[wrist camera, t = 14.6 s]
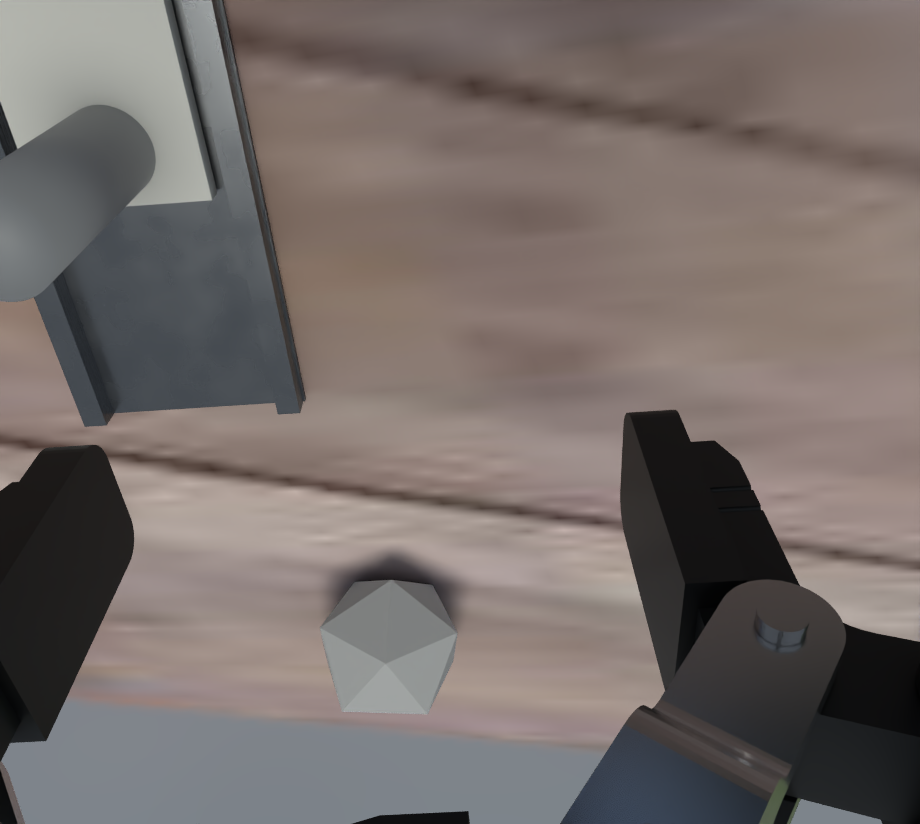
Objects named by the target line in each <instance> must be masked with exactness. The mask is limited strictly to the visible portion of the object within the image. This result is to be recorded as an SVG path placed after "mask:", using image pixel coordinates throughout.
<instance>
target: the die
mask: <svg viewBox="0 0 920 824" xmlns="http://www.w3.org/2000/svg"><path fill="white" fill-rule="evenodd" d="M320 631H321V635H322V640H323V644H324V649H325V654H326V658H327V661H328V665H329V668H330V672H331V675H332V679H333V682H334V686H335V689H336V693H337V696H338V700H339V703H340V707H341V710H342V712H373V713H404V714H428V712H429V710H430V708H431V706H432V704H433V702H434V700H435V698H436V696H437V694H438V692H439V689H440V687H441V685H442V683H443V681H444V679H445V677H446V675H447V673H448V671H449V669H450V667H451V664H452V662H453V659H454V652H455V646H456V639H457V631H456V629H455V627H454V625H453V623H452V621H451V619H450V618H449V616H448V614H447V612H446V610H445V608H444V606H443V604H442V602H441V600H440V598H439V597H438V595H437V593H436V591H435V589H434V587H433V585H429V584H421V583H413V582H405V581H397V580H380V581H362V582H354V583H353V585H352V586H351V587H350V589H349V590H348V591H347V593H346V594H345V595H344V596H343V598H342V599H341V600H340V602H339V603H338V604H337V606H336V607H335V608H334V610H333V611H332V612H331V614H330V615H329V616H328V618H327V619H326V620H325V622H324V623H323V624H322V626H321V627H320Z"/></svg>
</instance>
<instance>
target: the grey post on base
mask: <svg viewBox="0 0 920 824" xmlns="http://www.w3.org/2000/svg"><path fill="white" fill-rule="evenodd" d="M0 102H1V105H2V108H3V110H4V113H5V116H6V119H7V121H8V124H9V127H10V130H11V132H12V135H13V138H14V141H15V143H16V146H17V150H15V151H14V152H12V153H11V154H9V155H7V156H6V157H4V158H3V159H1V160H0V301H5V302H18V301H24V300H28V299H31V298H33V297H35V296H37V295H38V294H40V293H41V292H43V291H44V290H45V289H46V288H47V287H48V286H49V285H50V284H51V283H52V282H53V281H54V280H55V279H56V278H57V277H58V276H59V275H60V274H61V272H62V271H63V270H64V269H65V268H66V267H67V266H68V265H69V264H70V263H71V262H72V261H73V260H74V259H75V258H76V257H77V256H78V255H79V254H80V253H81V252H82V251H83V250H84V249H85V248H86V247H87V246H88V245H89V244H90V243H91V242H92V241H93V240H94V239H95V238H96V237H97V236H98V235H99V233H100V232H101V231H102V230H103V229H104V228H105V227H106V226H107V225H108V224H109V223H110V222H111V221H112V220H113V219H114V218H115V217H116V216H117V215H118V214H119V213H120V212H121V211H122V210H123V209H124V208H125V207H127V206H140V205H154V204H168V203H182V202H196V201H210V200H213V198H214V197H215V196H216V194H217V189H216V185H215V181H214V177H213V173H212V169H211V164H210V160H209V156H208V152H207V148H206V143H205V139H204V135H203V131H202V127H201V123H200V118H199V114H198V110H197V106H196V102H195V97H194V93H193V89H192V85H191V81H190V76H189V72H188V68H187V64H186V60H185V56H184V51H183V47H182V43H181V39H180V35H179V30H178V26H177V22H176V18H175V14H174V10H173V5H172V1H171V0H0Z"/></svg>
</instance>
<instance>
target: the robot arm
mask: <svg viewBox="0 0 920 824" xmlns="http://www.w3.org/2000/svg"><path fill="white" fill-rule="evenodd" d="M620 503H621V516H622V524H623V530H624V534H625V538H626V542H627V546H628V550H629V554H630V558H631V561H632V565H633V569H634V573H635V577H636V581H637V584H638V588H639V592H640V596H641V600H642V604H643V608H644V611H645V615H646V619H647V623H648V627H649V631H650V634H651V638H652V642H653V646H654V650H655V654H656V658H657V661H658V665H659V669H660V673H661V677H662V681H663V685H664V688H665V692H664V694H663V695H662V697H661V699H660V700H659V702H658V703H657V704H656V706H655V707H654V708H652V709H651V708H649V707H647V706H644V705H643V706H640V707H639V708H637V709H636V710H635V711H634V712H633V713H632V714H631V716H630V717H629V718H628V720H627V721H626V723H625V724H624V726H623V727H622V729H621V730H620V732H619V733H618V735H617V736H616V738H615V740H614V741H613V743H612V744H611V746H610V747H609V749H608V750H607V752H606V753H605V755H604V757H603V758H602V760H601V761H600V763H599V764H598V766H597V768H596V769H595V770H594V772H593V774H592V775H591V777H590V778H589V780H588V781H587V783H586V785H585V786H584V788H583V789H582V791H581V792H580V794H579V795H578V797H577V798H576V800H575V801H574V803H573V805H572V806H571V808H570V809H569V811H568V812H567V814H566V816H565V817H564V818H563V820H562V822H561V823H560V824H790V823H791V821H792V818H793V816H794V814H795V812H796V809H797V807H798V804H799V802H800V800H801V799H804V800H808V801H811V802H815V803H819V804H823V805H827V806H831V807H834V808H838V809H842V810H846V811H850V812H854V813H858V814H861V815H866V816H869V817H873V818H877V819H881V821H882V824H920V642H917V641H912V640H907V639H902V638H897V637H892V636H887V635H881V634H876V633H872V632H868V631H864V630H860V629H858V628H855V627H852V626H849V625H847V624H845V623H843V622H842V620H841V618H840V616H839V615H838V613H837V612H836V611H835V609H834V608H833V607H832V606H831V605H830V604H829V603H828V602H827V601H825V600H824V599H823V598H821V597H820V596H819V595H817V594H815V593H814V592H812V591H810V590H808V589H806V588H804V587H801V586H800V585H799V583H798V581H797V579H796V577H795V575H794V573H793V571H792V569H791V567H790V565H789V563H788V561H787V559H786V557H785V554H784V552H783V550H782V548H781V546H780V544H779V542H778V540H777V538H776V536H775V534H774V532H773V530H772V528H771V526H770V524H769V522H768V520H767V517H766V515H765V513H764V511H763V510H761V508H760V506H761V505H760V503H759V501H758V499H757V497H756V495H755V493H754V491H753V490H751V485H750V483H749V480H748V478H747V476H746V474H745V472H744V470H743V468H742V466H741V464H740V462H739V461H738V460H737V459H736V458H735V457H734V456H732V455H731V454H730V453H729V452H728V451H726V450H725V449H724V448H723V447H722V446H720V445H719V444H718V443H717V442H716V441H700V442H690V439H689V437H688V434H687V432H686V430H685V427H684V425H683V422H682V420H681V418H680V415H679V413H678V412H677V411H676V410H663V411H648V412H632V413H626V415H625V418H624V427H623V448H622V468H621V489H620ZM133 547H134V530H133V524H132V521H131V518H130V515H129V512H128V510H127V507H126V505H125V502H124V499H123V497H122V494H121V492H120V489H119V486H118V484H117V481H116V479H115V476H114V474H113V471H112V468H111V466H110V463H109V461H108V458H107V456H106V454H105V452H104V451H103V449H102V448H101V447H99V446H97V445H84V446H68V447H53V448H46V449H44V450H42V451H41V452H40V453H39V454H38V456H37V457H36V459H35V460H34V461H33V463H32V464H31V466H30V467H29V469H28V470H27V471H26V473H25V474H24V476H23V477H22V478H21V480H20V481H19V482H12V483H10V484H9V485H8V486H7V487H5V488H4V489H3V490H1V491H0V824H25V822H24V819H23V816H22V813H21V810H20V807H19V804H18V801H17V798H16V795H15V792H14V789H13V786H12V783H11V780H10V777H9V774H8V772H7V770H6V768H5V766H4V765H3V763H2V762H1V760H2V758H3V755H4V754H5V752H6V750H7V748H8V746H9V744H10V743H15V742H35V741H46V740H47V738H48V736H49V734H50V732H51V730H52V727H53V725H54V723H55V721H56V719H57V717H58V714H59V712H60V710H61V708H62V706H63V704H64V702H65V700H66V697H67V695H68V693H69V691H70V689H71V687H72V685H73V682H74V680H75V678H76V676H77V674H78V672H79V670H80V668H81V665H82V663H83V661H84V659H85V657H86V655H87V653H88V650H89V648H90V646H91V644H92V642H93V640H94V638H95V635H96V633H97V631H98V629H99V627H100V625H101V623H102V620H103V618H104V616H105V614H106V612H107V610H108V608H109V605H110V603H111V601H112V599H113V597H114V595H115V593H116V590H117V588H118V586H119V584H120V582H121V580H122V578H123V575H124V573H125V571H126V569H127V567H128V565H129V563H130V560H131V557H132V553H133ZM353 824H470V822H469V813H468V811H465V812H444V813H423V814H401V815H380V816H377V817H373V818H370V819H367V820H363V821H360V822H356V823H353Z"/></svg>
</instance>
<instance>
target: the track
mask: <svg viewBox="0 0 920 824" xmlns="http://www.w3.org/2000/svg"><path fill="white" fill-rule="evenodd" d="M171 1H172V5H173V10H174V14H175V18H176V22H177V26H178V30H179V35H180V39H181V43H182V47H183V51H184V56H185V60H186V64H187V68H188V72H189V76H190V81H191V85H192V89H193V93H194V97H195V102H196V106H197V110H198V114H199V118H200V123H201V127H202V131H203V135H204V139H205V143H206V148H207V152H208V156H209V160H210V164H211V169H212V173H213V177H214V181H215V185H216V189H217V194H216V196H215V197H214V198H213V200H210V201H196V202H182V203H168V204H154V205H140V206H127V207H125V208H124V209H123V210H122V211H121V212H120V213H119V214H118V215H117V216H116V217H115V218H114V219H113V220H112V221H111V222H110V223H109V224H108V225H107V226H106V227H105V228H104V229H103V230H102V231H101V232H100V233H99V235H98V236H97V237H96V238H95V239H94V240H93V241H92V242H91V243H90V244H89V245H88V246H87V247H86V248H85V249H84V250H83V251H82V252H81V253H80V254H79V255H78V256H77V257H76V258H75V259H74V260H73V261H72V262H71V263H70V264H69V265H68V266H67V267H66V268H65V269H64V270H63V271H62V272H61V274H60V275H59V276H58V277H57V278H56V279H55V280H54V281H53V282H52V283H51V284H50V285H49V286H48V287H47V288H46V289H45V290H44V291H43V292H41V293H40V294H38V295H37V296H35V297H34V299H35V301H36V304H37V306H38V309H39V311H40V314H41V316H42V319H43V322H44V324H45V327H46V329H47V332H48V334H49V337H50V339H51V342H52V344H53V347H54V350H55V352H56V355H57V357H58V360H59V362H60V365H61V367H62V370H63V372H64V375H65V377H66V380H67V383H68V385H69V388H70V390H71V393H72V395H73V398H74V400H75V403H76V405H77V408H78V410H79V413H80V416H81V418H82V421H83V423H84V426H85V427H87V426H103V425H107V424H108V422H109V421H110V419H111V417H112V416H113V414H114V413H123V412H139V411H154V410H170V409H185V408H201V407H217V406H232V405H248V404H263V403H275V404H276V408H277V412H278V414H292V413H300V411H301V408H302V404H303V401H305V400H306V398H305V393H304V388H303V383H302V378H301V374H300V369H299V364H298V359H297V354H296V349H295V345H294V340H293V335H292V330H291V325H290V321H289V316H288V311H287V306H286V301H285V296H284V292H283V287H282V282H281V277H280V272H279V268H278V263H277V258H276V253H275V248H274V243H273V239H272V234H271V229H270V224H269V219H268V214H267V210H266V205H265V200H264V195H263V190H262V186H261V181H260V176H259V171H258V166H257V161H256V157H255V152H254V147H253V142H252V137H251V133H250V128H249V123H248V118H247V113H246V108H245V104H244V99H243V94H242V89H241V84H240V80H239V75H238V70H237V65H236V60H235V55H234V51H233V46H232V41H231V36H230V31H229V27H228V22H227V17H226V12H225V7H224V2H223V0H171ZM15 150H17V146H16V143H15V141H14V138H13V135H12V132H11V130H10V127H9V124H8V121H7V119H6V116H5V113H4V110H3V108H2V105H1V102H0V160H1V159H3V158H4V157H6V156H7V155H9V154H11V153H12V152H14V151H15Z"/></svg>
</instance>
